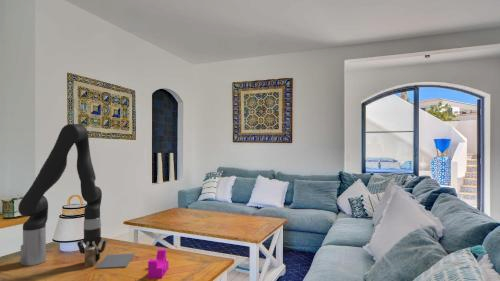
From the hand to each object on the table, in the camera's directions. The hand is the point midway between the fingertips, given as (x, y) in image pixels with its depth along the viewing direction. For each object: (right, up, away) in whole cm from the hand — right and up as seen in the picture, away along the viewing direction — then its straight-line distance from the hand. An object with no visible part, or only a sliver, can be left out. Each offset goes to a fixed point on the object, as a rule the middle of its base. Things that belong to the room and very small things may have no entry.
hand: (92, 260), depth 147 cm
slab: (0, -1, 0) cm, 1 cm away
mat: (+11, -1, +2) cm, 11 cm away
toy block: (+36, -2, -8) cm, 37 cm away
